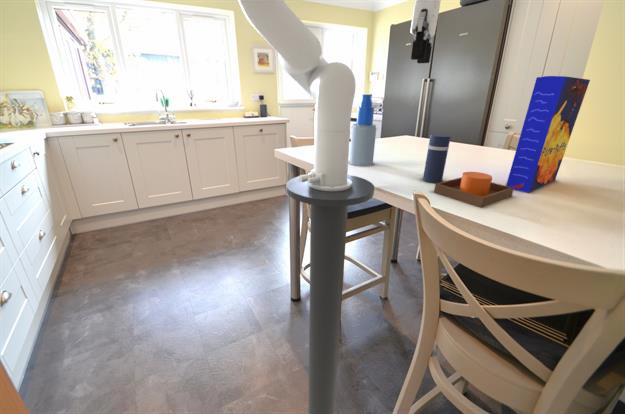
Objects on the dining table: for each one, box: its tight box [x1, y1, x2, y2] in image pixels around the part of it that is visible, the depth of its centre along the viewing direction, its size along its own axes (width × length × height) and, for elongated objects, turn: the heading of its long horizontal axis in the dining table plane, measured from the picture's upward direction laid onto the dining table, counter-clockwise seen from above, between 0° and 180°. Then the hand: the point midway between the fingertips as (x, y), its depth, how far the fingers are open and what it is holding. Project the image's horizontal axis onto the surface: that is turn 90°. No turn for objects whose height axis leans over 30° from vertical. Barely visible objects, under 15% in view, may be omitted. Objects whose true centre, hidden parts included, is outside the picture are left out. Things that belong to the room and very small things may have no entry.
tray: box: [433, 176, 515, 208], centre depth 77 cm, size 15×13×2 cm
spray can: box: [422, 133, 451, 184], centre depth 87 cm, size 6×6×14 cm
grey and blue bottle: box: [349, 93, 377, 167], centre depth 105 cm, size 9×9×25 cm
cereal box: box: [505, 75, 591, 194], centre depth 82 cm, size 22×6×30 cm, turn 126°
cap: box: [459, 171, 493, 197], centre depth 76 cm, size 7×7×5 cm
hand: (420, 61), depth 74 cm, fingers open, 9 cm apart
